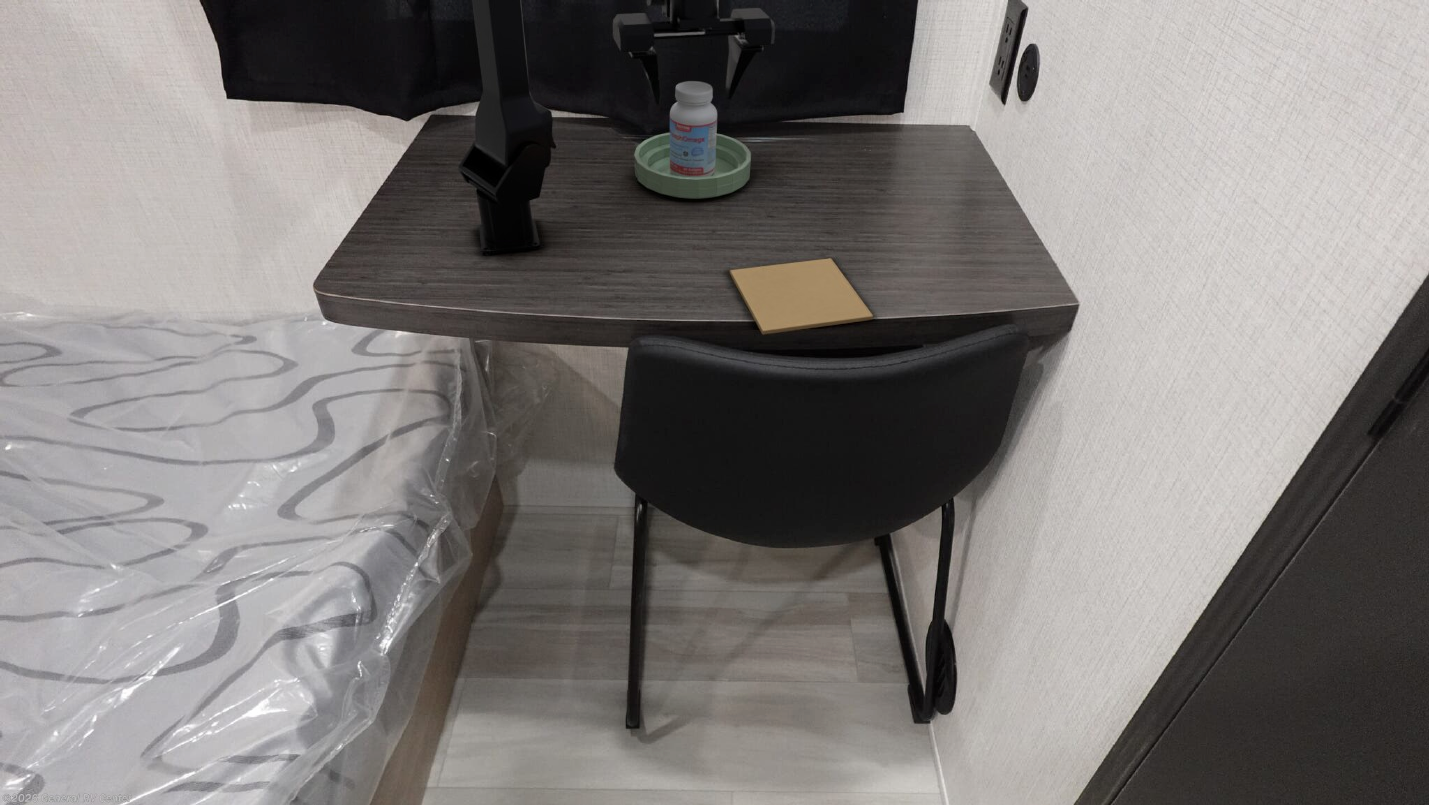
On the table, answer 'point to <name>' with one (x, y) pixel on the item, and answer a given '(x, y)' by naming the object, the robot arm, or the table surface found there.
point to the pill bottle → (693, 130)
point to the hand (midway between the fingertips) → (692, 101)
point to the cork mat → (799, 296)
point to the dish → (724, 180)
